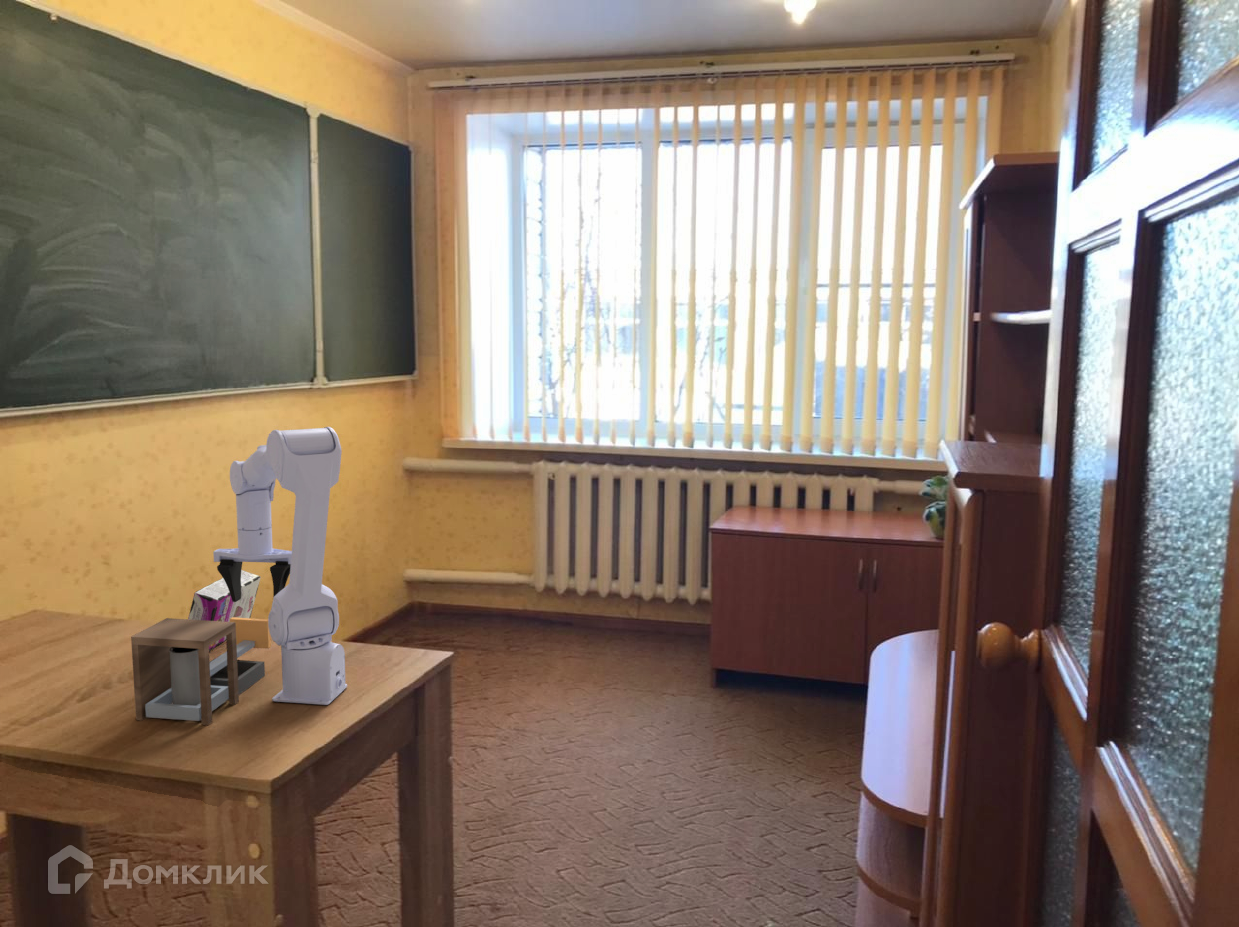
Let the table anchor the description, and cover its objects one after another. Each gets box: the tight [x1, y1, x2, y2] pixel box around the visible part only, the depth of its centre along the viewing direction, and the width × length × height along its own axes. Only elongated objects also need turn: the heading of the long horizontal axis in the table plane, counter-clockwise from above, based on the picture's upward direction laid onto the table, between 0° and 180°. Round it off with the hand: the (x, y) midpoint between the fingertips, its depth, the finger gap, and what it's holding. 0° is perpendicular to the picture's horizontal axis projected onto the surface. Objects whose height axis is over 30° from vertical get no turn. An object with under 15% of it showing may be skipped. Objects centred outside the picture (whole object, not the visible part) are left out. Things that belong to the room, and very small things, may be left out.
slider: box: [145, 617, 272, 722], centre depth 152 cm, size 9×24×8 cm, turn 173°
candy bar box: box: [187, 569, 262, 652], centre depth 176 cm, size 11×5×16 cm
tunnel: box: [130, 617, 240, 726], centre depth 144 cm, size 12×9×13 cm
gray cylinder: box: [169, 647, 201, 706], centre depth 145 cm, size 4×4×10 cm
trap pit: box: [209, 657, 266, 696], centre depth 156 cm, size 9×9×2 cm
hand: (257, 601), depth 167 cm, fingers open, 7 cm apart
